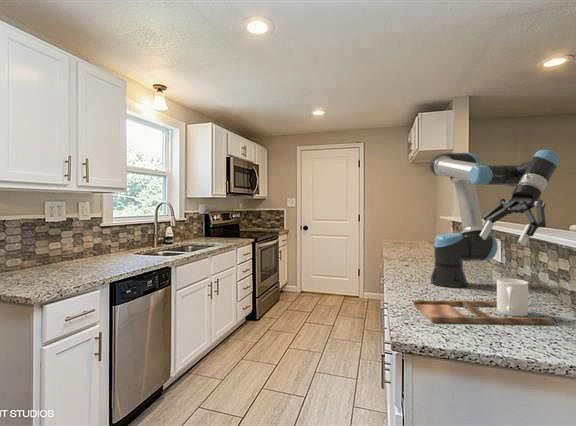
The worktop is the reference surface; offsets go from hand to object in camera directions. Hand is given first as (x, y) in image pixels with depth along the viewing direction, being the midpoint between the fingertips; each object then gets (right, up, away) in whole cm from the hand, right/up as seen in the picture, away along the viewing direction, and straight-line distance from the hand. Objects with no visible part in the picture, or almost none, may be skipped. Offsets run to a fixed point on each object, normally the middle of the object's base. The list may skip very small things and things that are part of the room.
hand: (500, 240), depth 106 cm
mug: (+2, -25, -2) cm, 25 cm away
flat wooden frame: (-9, -25, -1) cm, 26 cm away
